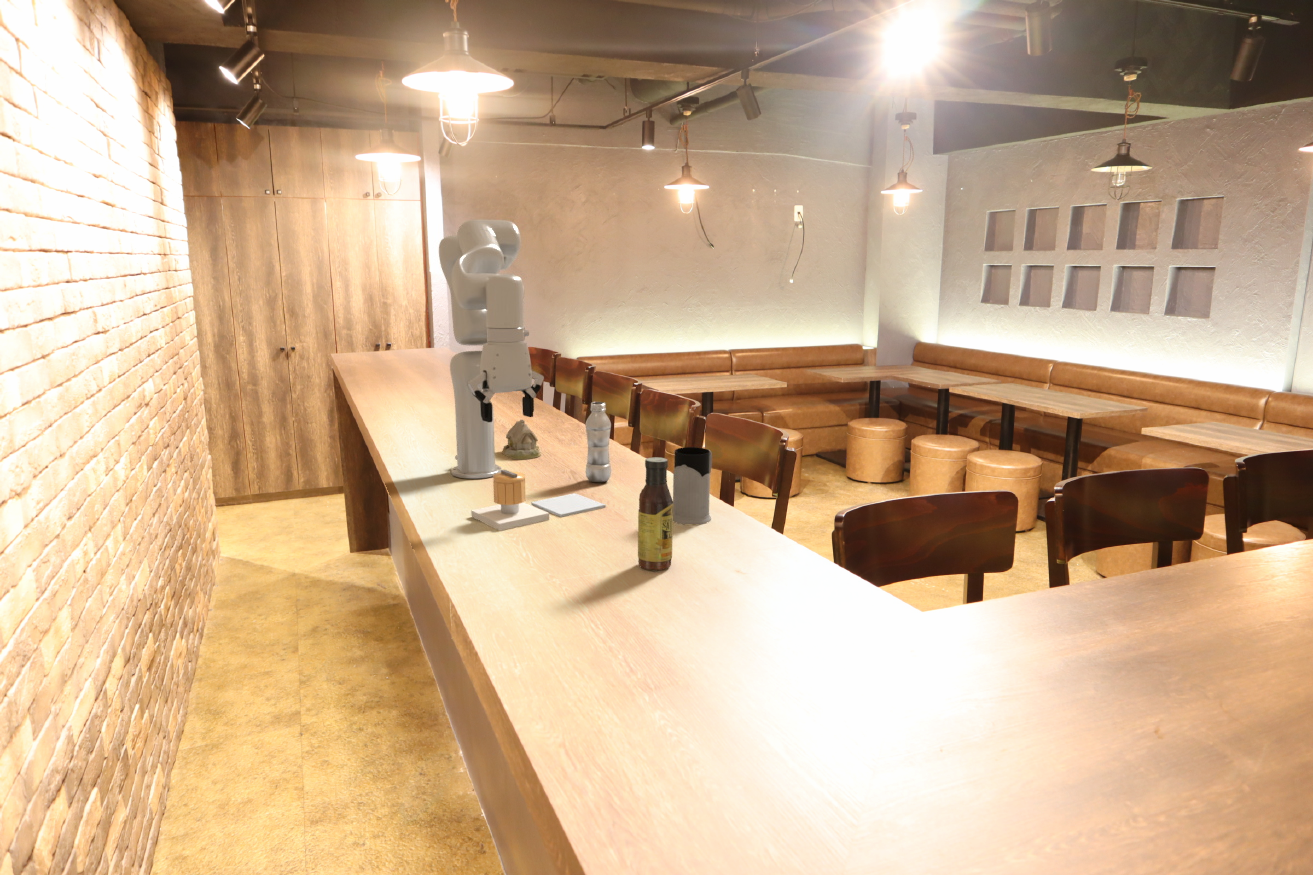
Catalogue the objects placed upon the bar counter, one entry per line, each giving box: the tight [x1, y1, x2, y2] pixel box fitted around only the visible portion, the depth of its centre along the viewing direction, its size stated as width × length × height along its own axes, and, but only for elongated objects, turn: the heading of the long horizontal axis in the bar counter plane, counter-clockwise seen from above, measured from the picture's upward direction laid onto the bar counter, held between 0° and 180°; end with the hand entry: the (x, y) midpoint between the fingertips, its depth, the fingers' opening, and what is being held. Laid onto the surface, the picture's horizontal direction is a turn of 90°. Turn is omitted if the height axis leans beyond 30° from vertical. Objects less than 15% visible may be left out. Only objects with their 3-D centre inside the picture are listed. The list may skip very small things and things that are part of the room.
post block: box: [470, 502, 550, 531], centre depth 177 cm, size 12×12×8 cm
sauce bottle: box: [637, 456, 674, 572], centre depth 149 cm, size 6×6×20 cm
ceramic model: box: [501, 419, 541, 460], centre depth 236 cm, size 14×11×10 cm
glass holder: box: [672, 446, 713, 525], centre depth 180 cm, size 9×14×15 cm, turn 152°
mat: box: [530, 492, 607, 518], centre depth 187 cm, size 12×12×1 cm
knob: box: [492, 469, 526, 505], centre depth 176 cm, size 7×7×6 cm
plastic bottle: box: [584, 401, 612, 483], centre depth 206 cm, size 6×7×20 cm
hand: (508, 418), depth 173 cm, fingers open, 9 cm apart
